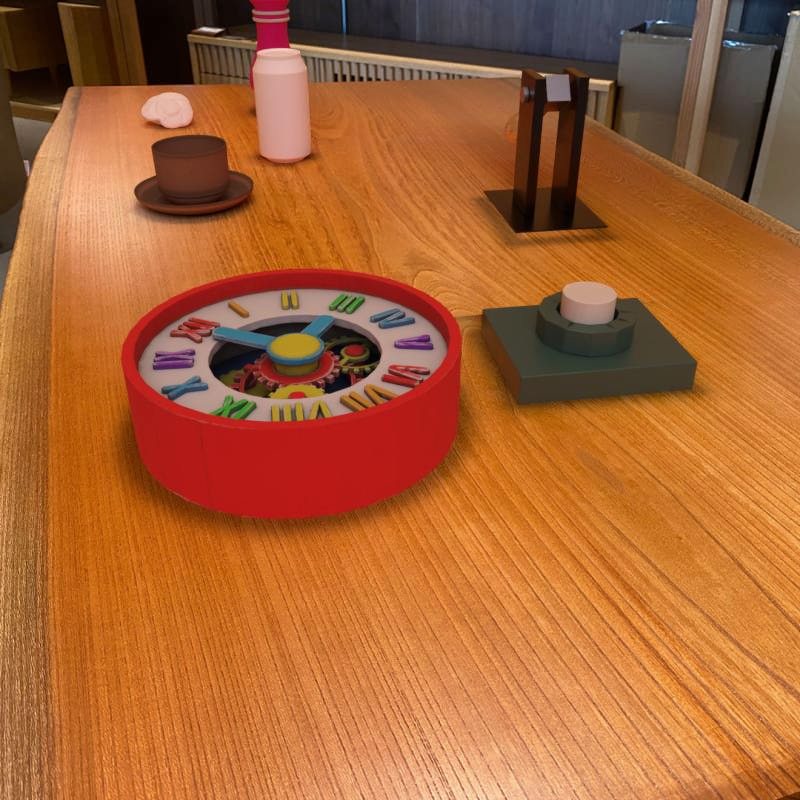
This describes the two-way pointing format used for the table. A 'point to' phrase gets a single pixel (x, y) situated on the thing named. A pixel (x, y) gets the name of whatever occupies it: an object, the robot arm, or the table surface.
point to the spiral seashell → (168, 110)
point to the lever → (554, 102)
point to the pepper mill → (270, 26)
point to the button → (588, 303)
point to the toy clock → (294, 391)
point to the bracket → (559, 202)
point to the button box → (584, 353)
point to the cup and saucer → (192, 177)
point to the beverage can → (282, 105)
